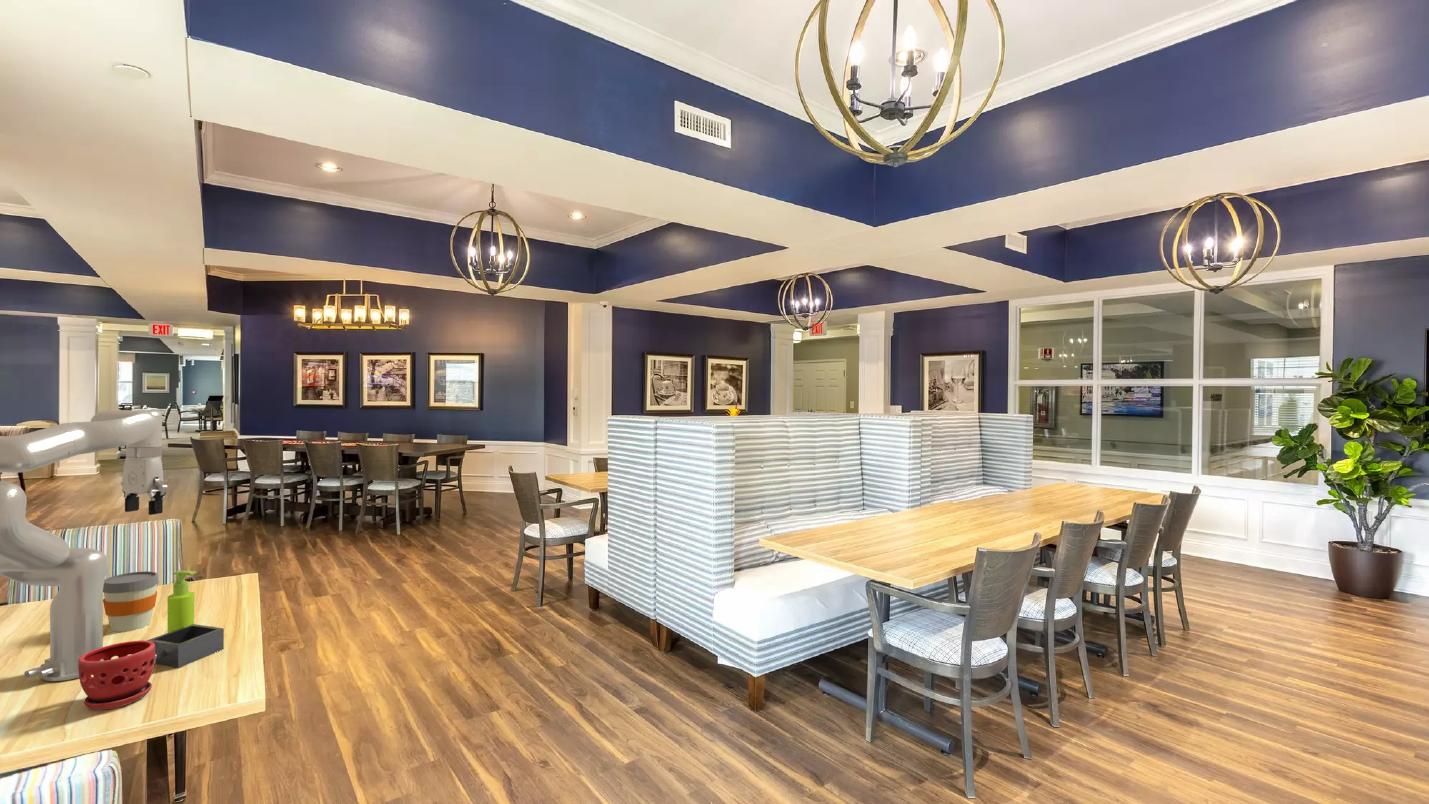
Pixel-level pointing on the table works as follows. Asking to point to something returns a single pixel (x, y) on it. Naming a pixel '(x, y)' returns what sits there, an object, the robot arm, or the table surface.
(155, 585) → the reusable coffee cup
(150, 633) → the table surface
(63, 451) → the robot arm
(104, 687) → the plant pot
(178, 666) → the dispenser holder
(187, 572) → the soap dispenser
